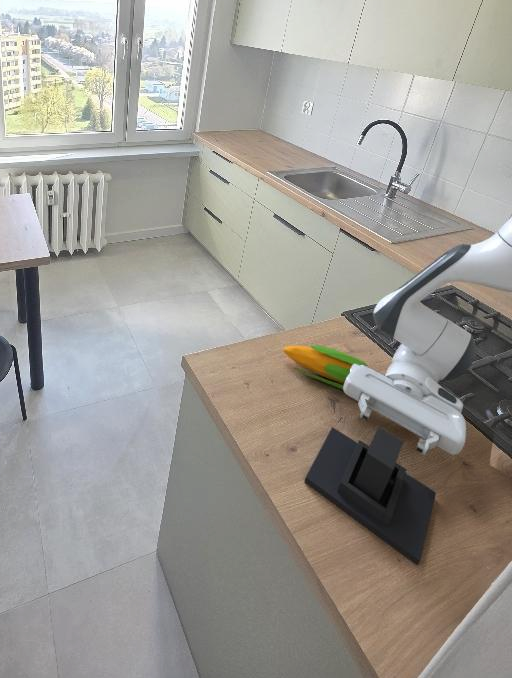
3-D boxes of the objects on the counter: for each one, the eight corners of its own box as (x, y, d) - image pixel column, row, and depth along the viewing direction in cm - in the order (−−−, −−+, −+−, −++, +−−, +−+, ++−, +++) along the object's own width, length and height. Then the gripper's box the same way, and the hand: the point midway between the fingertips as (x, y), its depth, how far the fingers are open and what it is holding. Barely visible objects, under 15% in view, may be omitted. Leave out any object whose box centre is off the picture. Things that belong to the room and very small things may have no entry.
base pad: (433, 497, 75) (440, 483, 73) (417, 565, 65) (425, 551, 64) (330, 431, 86) (335, 418, 84) (303, 482, 76) (308, 468, 75)
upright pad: (386, 477, 76) (403, 440, 72) (376, 507, 72) (393, 470, 67) (363, 462, 79) (378, 425, 75) (351, 490, 74) (366, 453, 70)
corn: (381, 379, 89) (284, 345, 97) (371, 406, 92) (278, 371, 100) (379, 357, 95) (288, 328, 103) (369, 383, 98) (281, 352, 106)
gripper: (358, 350, 91) (337, 387, 82) (473, 407, 79) (464, 459, 69) (350, 371, 94) (329, 409, 84) (461, 430, 81) (451, 483, 72)
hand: (391, 432), depth 77 cm, fingers open, 8 cm apart
